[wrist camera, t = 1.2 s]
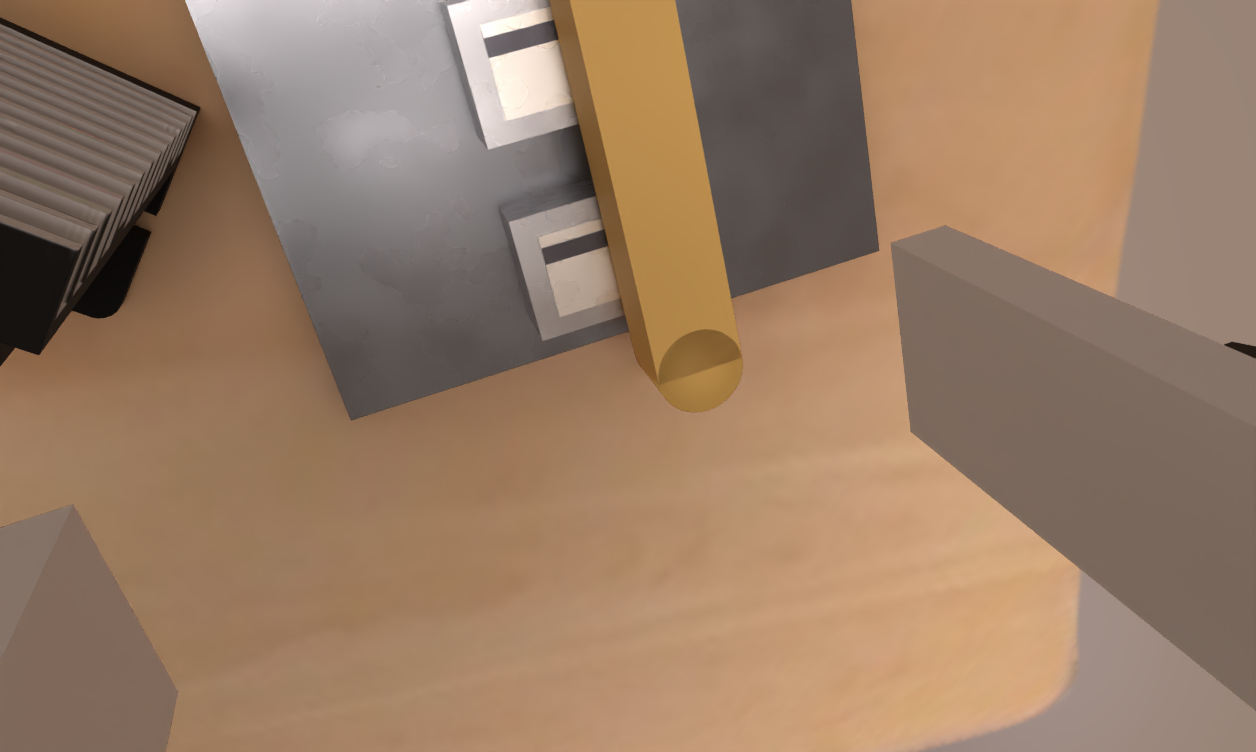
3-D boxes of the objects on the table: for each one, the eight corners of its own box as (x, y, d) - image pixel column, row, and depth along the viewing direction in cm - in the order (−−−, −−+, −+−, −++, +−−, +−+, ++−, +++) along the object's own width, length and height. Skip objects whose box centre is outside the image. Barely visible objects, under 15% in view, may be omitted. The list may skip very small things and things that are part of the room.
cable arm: (485, -154, 31) (517, -177, 26) (595, -180, 31) (647, -207, 26) (616, 365, 39) (659, 426, 34) (702, 337, 39) (757, 393, 34)
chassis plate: (350, 409, 38) (352, 452, 35) (154, -89, 30) (133, -94, 27) (867, 244, 41) (914, 269, 38) (810, -241, 34) (862, -263, 30)
